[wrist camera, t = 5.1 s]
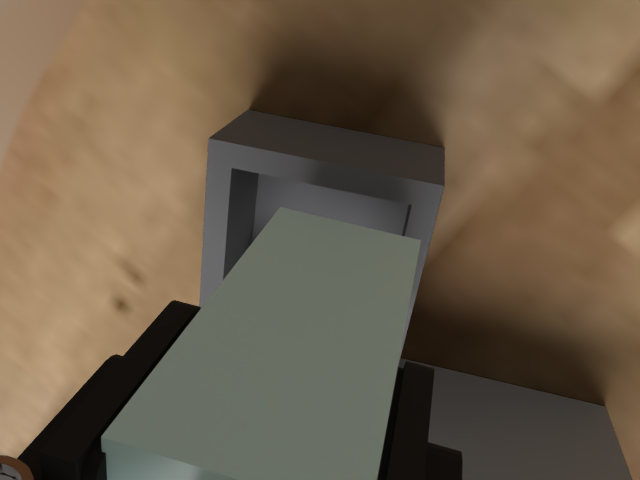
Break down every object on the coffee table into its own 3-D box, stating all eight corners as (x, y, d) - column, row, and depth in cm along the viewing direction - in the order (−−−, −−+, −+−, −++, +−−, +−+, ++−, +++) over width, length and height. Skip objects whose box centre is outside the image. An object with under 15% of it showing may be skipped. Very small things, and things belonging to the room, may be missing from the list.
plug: (280, 207, 15) (22, 537, 6) (421, 240, 14) (346, 648, 6) (265, 322, 16) (47, 704, 8) (391, 355, 16) (299, 802, 7)
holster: (248, 109, 19) (208, 138, 16) (444, 147, 18) (444, 186, 15) (233, 277, 22) (198, 330, 18) (402, 316, 21) (395, 378, 18)
